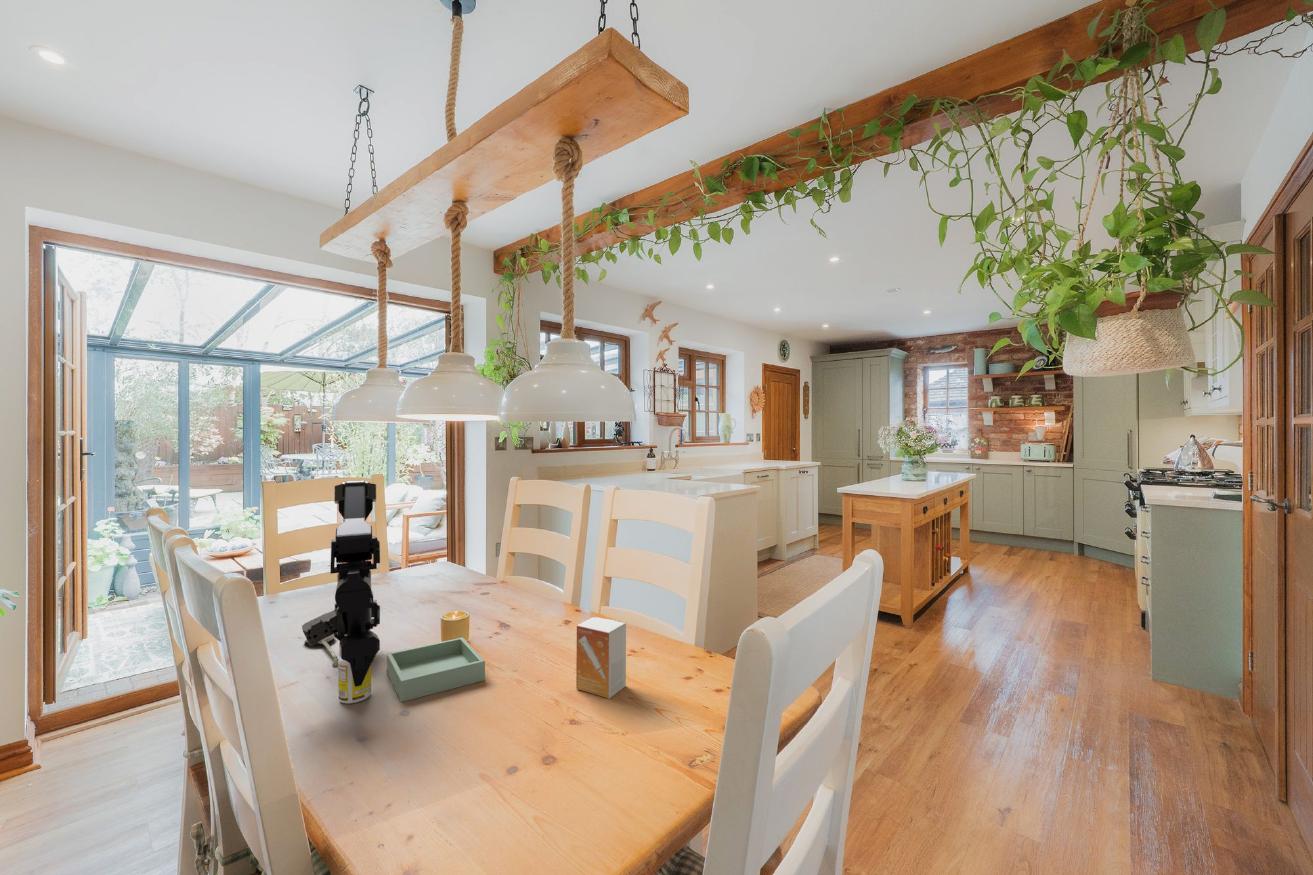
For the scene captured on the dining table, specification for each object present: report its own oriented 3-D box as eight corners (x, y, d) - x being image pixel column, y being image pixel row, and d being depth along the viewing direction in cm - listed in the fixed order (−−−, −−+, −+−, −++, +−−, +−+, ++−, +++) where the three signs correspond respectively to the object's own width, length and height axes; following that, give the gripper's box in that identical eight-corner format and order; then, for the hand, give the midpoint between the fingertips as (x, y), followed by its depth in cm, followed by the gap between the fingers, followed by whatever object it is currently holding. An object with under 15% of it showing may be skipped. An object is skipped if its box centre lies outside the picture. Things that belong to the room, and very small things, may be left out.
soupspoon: (332, 639, 139) (302, 647, 135) (331, 625, 139) (301, 633, 135) (353, 663, 123) (319, 673, 118) (352, 648, 123) (318, 657, 118)
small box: (575, 689, 109) (575, 624, 109) (594, 677, 115) (594, 615, 115) (609, 699, 105) (609, 632, 105) (626, 686, 111) (626, 622, 111)
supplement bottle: (375, 690, 109) (375, 639, 109) (363, 704, 103) (363, 650, 103) (346, 691, 108) (346, 640, 108) (332, 705, 103) (332, 651, 103)
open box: (386, 671, 117) (386, 653, 117) (462, 654, 127) (462, 637, 127) (401, 701, 104) (401, 681, 104) (484, 680, 114) (484, 660, 113)
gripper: (302, 592, 109) (303, 670, 109) (307, 618, 94) (308, 708, 94) (365, 583, 115) (365, 656, 115) (380, 606, 100) (380, 691, 100)
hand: (354, 676), depth 106 cm, fingers open, 9 cm apart
